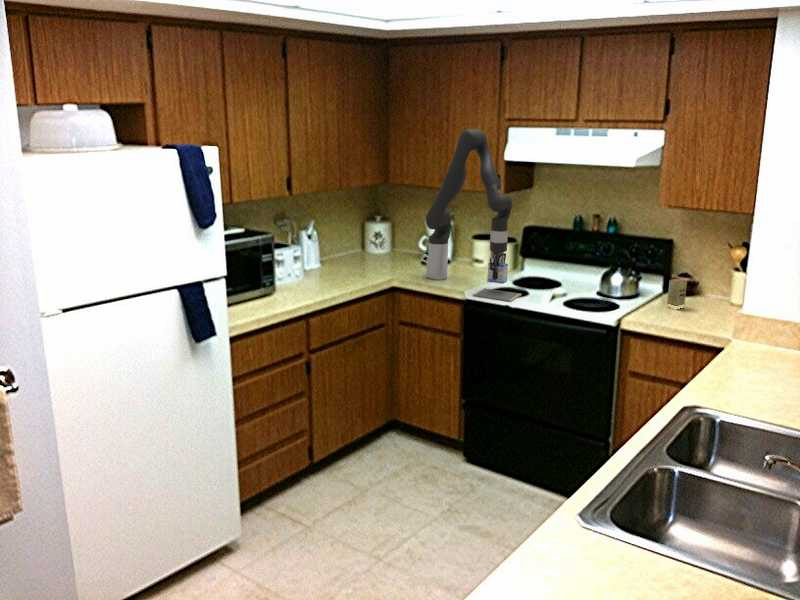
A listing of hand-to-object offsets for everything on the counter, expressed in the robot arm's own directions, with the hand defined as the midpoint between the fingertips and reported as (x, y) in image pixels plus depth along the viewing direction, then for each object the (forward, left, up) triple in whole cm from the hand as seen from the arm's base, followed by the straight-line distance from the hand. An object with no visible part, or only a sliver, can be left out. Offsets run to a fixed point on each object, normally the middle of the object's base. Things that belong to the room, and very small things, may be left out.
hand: (497, 277), depth 337 cm
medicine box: (0, 0, -2) cm, 2 cm away
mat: (+2, -4, -7) cm, 8 cm away
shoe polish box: (+74, +18, -7) cm, 76 cm away
